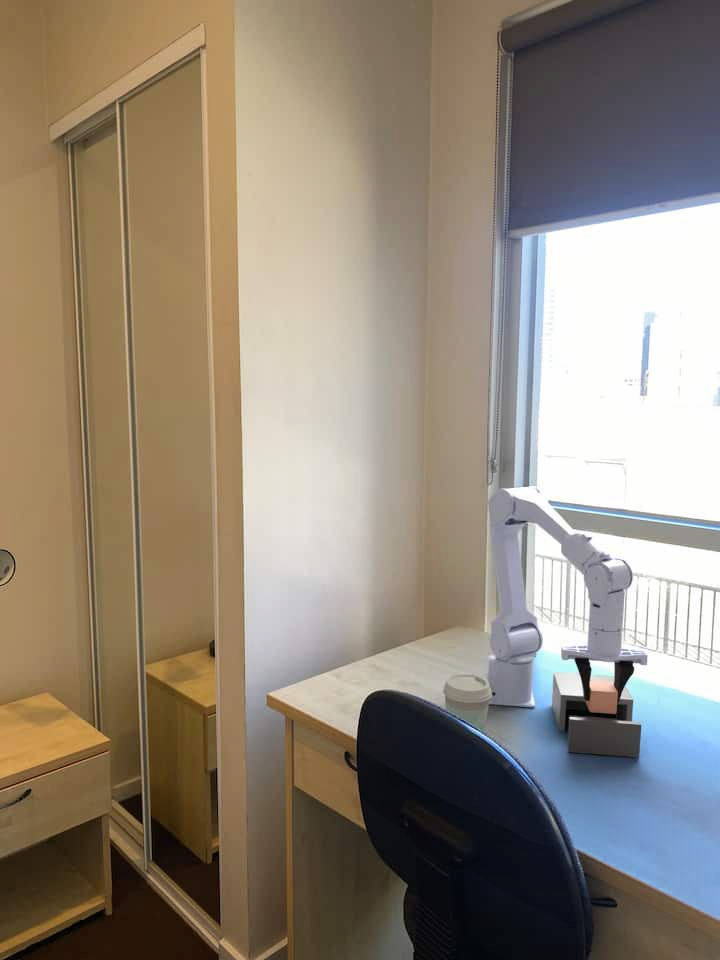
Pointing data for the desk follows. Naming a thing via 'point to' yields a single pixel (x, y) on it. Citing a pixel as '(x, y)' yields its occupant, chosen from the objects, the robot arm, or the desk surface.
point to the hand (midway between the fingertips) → (601, 699)
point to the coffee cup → (468, 698)
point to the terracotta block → (602, 697)
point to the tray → (604, 736)
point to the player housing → (582, 697)
